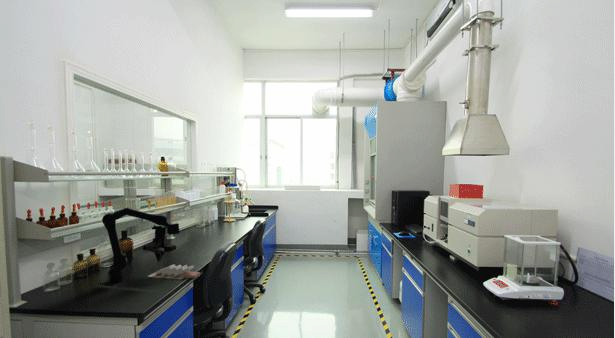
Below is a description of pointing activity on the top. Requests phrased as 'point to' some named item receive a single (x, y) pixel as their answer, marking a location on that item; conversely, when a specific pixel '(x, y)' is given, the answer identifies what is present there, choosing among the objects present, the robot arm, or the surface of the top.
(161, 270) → the domino
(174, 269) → the domino
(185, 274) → the domino
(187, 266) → the domino
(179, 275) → the beige flat rectangular board
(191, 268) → the domino
